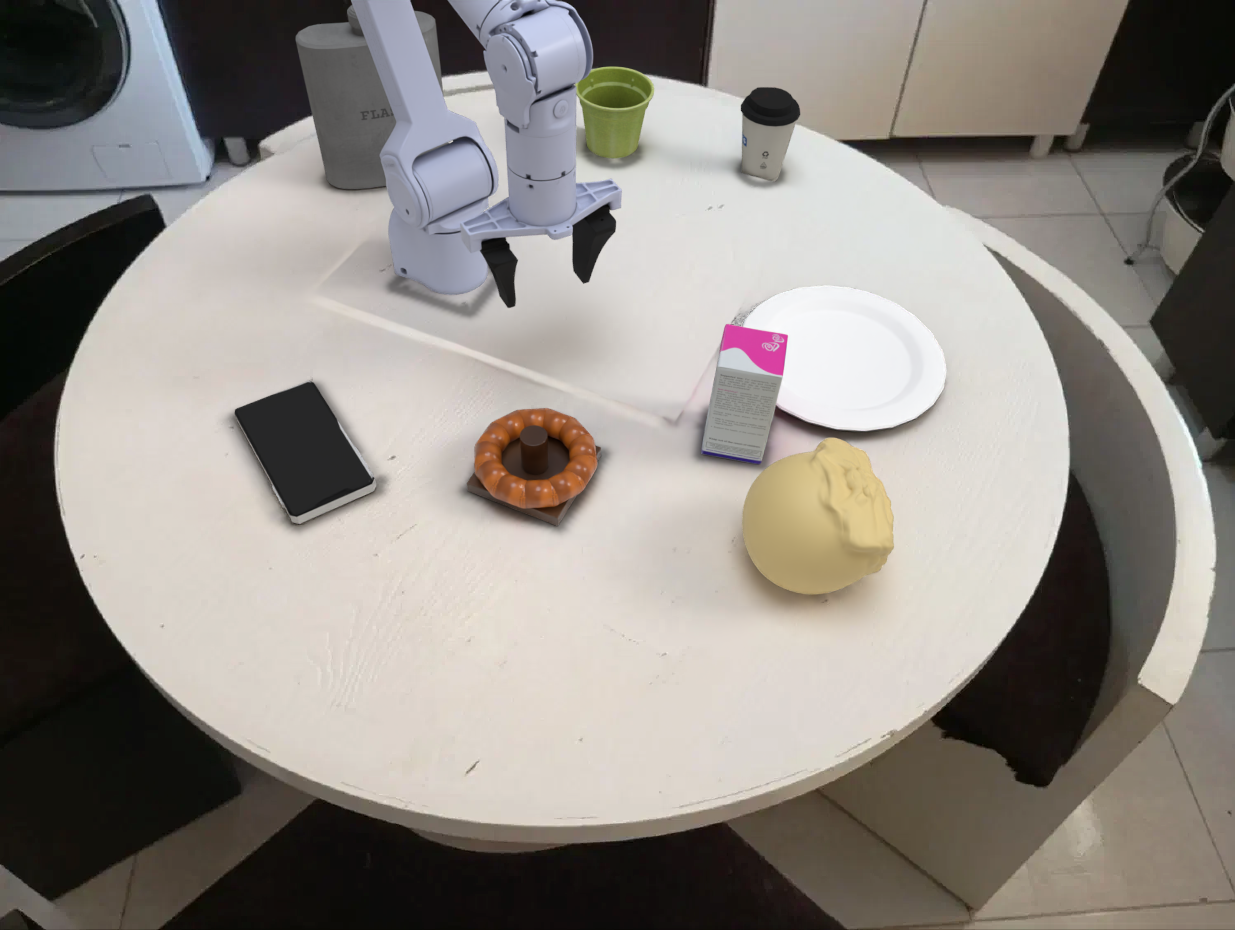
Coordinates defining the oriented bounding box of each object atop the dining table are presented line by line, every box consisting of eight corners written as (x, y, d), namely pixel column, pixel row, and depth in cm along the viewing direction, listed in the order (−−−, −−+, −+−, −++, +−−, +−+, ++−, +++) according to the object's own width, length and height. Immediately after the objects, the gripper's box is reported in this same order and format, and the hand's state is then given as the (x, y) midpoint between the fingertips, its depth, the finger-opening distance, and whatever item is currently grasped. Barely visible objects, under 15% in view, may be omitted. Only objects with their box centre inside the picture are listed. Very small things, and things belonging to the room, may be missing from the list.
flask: (333, 197, 115) (295, 30, 100) (323, 170, 119) (285, 4, 103) (457, 173, 119) (440, 8, 104) (444, 147, 123) (426, -16, 107)
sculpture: (890, 608, 82) (926, 531, 74) (747, 616, 81) (767, 539, 73) (858, 499, 89) (887, 418, 81) (726, 504, 88) (742, 423, 80)
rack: (467, 491, 88) (462, 453, 84) (514, 423, 94) (512, 385, 90) (557, 526, 86) (557, 489, 82) (601, 455, 92) (602, 417, 88)
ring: (453, 487, 87) (450, 470, 85) (510, 406, 93) (509, 388, 92) (564, 530, 84) (563, 513, 83) (615, 443, 91) (616, 426, 89)
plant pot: (664, 147, 124) (669, 82, 118) (624, 183, 119) (627, 117, 112) (601, 123, 127) (603, 58, 121) (559, 157, 122) (559, 91, 115)
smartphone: (313, 378, 95) (378, 480, 87) (315, 387, 96) (380, 489, 88) (230, 410, 92) (290, 519, 84) (234, 419, 93) (293, 528, 85)
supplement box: (763, 466, 91) (783, 378, 83) (699, 455, 92) (712, 366, 83) (769, 420, 95) (789, 332, 86) (708, 410, 96) (721, 321, 87)
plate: (777, 273, 109) (779, 261, 108) (964, 334, 104) (969, 322, 102) (703, 394, 97) (705, 382, 96) (911, 470, 92) (916, 459, 90)
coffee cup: (798, 169, 122) (812, 94, 114) (772, 197, 118) (786, 121, 111) (747, 151, 124) (759, 76, 117) (721, 177, 120) (731, 102, 113)
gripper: (479, 211, 77) (490, 339, 87) (642, 164, 82) (634, 291, 92) (444, 163, 81) (459, 291, 91) (601, 121, 86) (598, 248, 96)
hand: (544, 288), depth 92 cm, fingers open, 7 cm apart
